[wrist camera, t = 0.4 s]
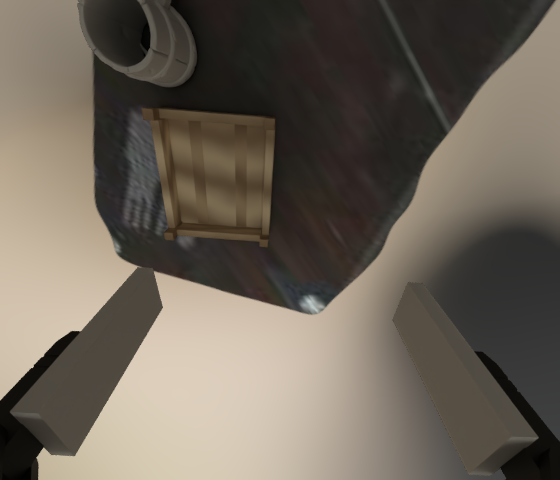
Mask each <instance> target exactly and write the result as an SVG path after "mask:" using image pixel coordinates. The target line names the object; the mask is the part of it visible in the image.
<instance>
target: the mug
mask: <svg viewBox="0 0 560 480" xmlns="http://www.w3.org/2000/svg"><path fill="white" fill-rule="evenodd" d="M78 1H79V3H78V10H79V16H80V25H81V29H82V32H83V34H84V37H85V39H86V41H87V43H88V45H89V47H90V48H91V50H93V51H94V53H95V54H96V55H97V56H98V57H99V59H100V60H101V61H103V62H104V63H106V64H108V65H109V66H111V67H112V68H113V69H115V70H117V71H119V72H123V73H125V74H126V75H127V76H129V77H131V78H134V79H138V80H142V81H149V82H151V83H154V84H156V85H159V86H162V87H176V86H179V85H181V84H183V83H185V82H186V81H187V80H188V79H189V78H190V77H191V76H192V74H193V72H194V70H195V68H194V67H195V66H196V63H197V50H196V45H195V41H194V37H193V35H192V32H191V30H190V28H189V26H188V25H187V23H186V21H185V20H184V19H183V17H182V16H181V15H180V14H179V13H178V12H177V11H176V10H175V9H174V8H173V7H172V6H170V3H171V0H78ZM80 3H81V4H80ZM147 22H148V23H149V27H150V33H151V41H150V48H149V50H148V52H147V50H146V49H145V48H144V47H143V46H142V45H141V38H142V34H141V33H143V29H144V27H145V25H146V24H147ZM142 50H143V51H144V53H145V55H146V56H145V57H144V54H143V51H142Z"/></svg>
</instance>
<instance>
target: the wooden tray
mask: <svg viewBox="0 0 560 480" xmlns="http://www.w3.org/2000/svg"><path fill="white" fill-rule="evenodd" d="M142 114H143V119H144V120H150V123H151V128H152V134H153V140H154V146H155V152H156V158H157V164H158V169H159V175H160V181H161V187H162V193H163V199H164V205H165V211H166V216H167V222H168V229H167V230H166V231H165V232H164V235H165V240H174V239H175V238H176V237H177V236H191V237H205V238H219V239H233V240H246V241H260V247H268V240H269V232H270V214H271V197H272V180H273V163H274V146H275V128H276V117H271V116H258V115H246V114H234V113H222V112H210V111H198V110H186V109H174V108H162V107H160V108H142Z"/></svg>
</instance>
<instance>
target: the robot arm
mask: <svg viewBox="0 0 560 480" xmlns="http://www.w3.org/2000/svg"><path fill="white" fill-rule="evenodd" d="M162 308H163V306H162V302H161V299H160V295H159V291H158V287H157V283H156V279H155V275H154V271H153V268H139V267H138V268H137V269H136V270H135V271H134V272H133V273H132V275H131V276H130V277H129V278H128V279H127V280H126V281H125V282H124V283H123V285H122V286H121V287H120V288H119V289H118V290H117V291H116V292H115V294H114V295H113V296H112V297H111V298H110V299H109V300H108V301H107V303H106V304H105V305H104V306H103V307H102V308H101V309H100V310H99V312H98V313H97V314H96V315H95V316H94V317H93V319H92V320H91V321H90V322H89V323H88V324H87V325H86V326H85V327H84V329H83V330H82V331H80V332H79V331H71V332H70V333H69V334H67V335H65V336H64V337H62V338H61V339H60V340H58V341H57V342H56V343H55V344H54V345H53V346H52V347H51V348H50V349H49V350H48V351H47V352H46V353H45V354H44V357H42V358H40V360H38V362H37V363H36V364H35V365H34V367H33V368H31V369H30V370H29V371H28V372H27V373H26V374H25V375H24V376H23V377H22V378H21V380H19V382H18V383H17V384H16V385H15V386H14V387H13V388H12V389H11V390H10V391H9V392H8V393H7V394H6V395H5V396H4V397H3V398H2V399H1V400H0V480H38V461H37V458H36V457H37V456H38V455H39V453H40V451H41V450H42V449H43V447H44V448H45V449H46V450H47V451H48V452H49V453H50V454H51V455H65V456H75V455H76V453H77V451H78V449H79V448H80V446H81V444H82V443H83V441H84V439H85V438H86V436H87V434H88V433H89V431H90V429H91V428H92V426H93V424H94V423H95V421H96V419H97V418H98V416H99V414H100V412H101V411H102V409H103V407H104V406H105V404H106V402H107V401H108V399H109V397H110V396H111V394H112V392H113V390H114V389H115V387H116V386H117V384H118V382H119V380H120V379H121V377H122V375H123V374H124V372H125V370H126V369H127V367H128V365H129V364H130V362H131V360H132V359H133V357H134V355H135V353H136V352H137V350H138V348H139V346H140V345H141V343H142V342H143V340H144V338H145V337H146V335H147V333H148V332H149V330H150V328H151V326H152V325H153V323H154V321H155V320H156V318H157V316H158V315H159V313H160V311H161V310H162ZM393 322H394V323H395V326H396V328H397V330H398V332H399V334H400V336H401V338H402V340H403V342H404V344H405V346H406V348H407V350H408V352H409V354H410V356H411V358H412V360H413V362H414V365H415V367H416V369H417V371H418V372H419V374H420V377H421V379H422V381H423V383H424V385H425V387H426V389H427V391H428V393H429V395H430V397H431V399H432V401H433V403H434V405H435V407H436V409H437V411H438V414H439V416H440V417H441V420H442V422H443V424H444V426H445V427H446V430H447V432H448V434H449V436H450V438H451V440H452V442H453V444H454V446H455V448H456V450H457V452H458V454H459V456H460V458H461V460H462V462H463V464H464V467H465V469H466V471H467V473H468V474H469V475H492V474H493V473H495V472H496V471H497V470H498V469H500V468H501V470H502V472H503V473H504V475H505V477H506V480H560V442H559V440H558V439H557V438H556V437H555V436H554V435H553V433H552V432H551V431H550V430H549V429H548V427H547V426H546V425H545V423H544V422H543V421H542V420H541V418H540V417H539V416H538V415H537V413H536V412H535V411H534V410H533V408H532V407H531V406H530V405H529V404H528V402H527V401H526V400H525V399H524V397H523V396H522V395H521V393H520V392H517V388H516V387H515V386H514V385H513V384H512V382H511V381H510V380H508V378H507V376H506V375H505V374H504V373H503V371H502V370H501V369H500V367H499V366H498V365H497V364H496V363H495V362H494V361H492V360H491V359H490V358H489V357H488V356H487V355H486V354H484V353H483V352H476V351H473V350H472V348H471V347H470V346H469V344H468V343H467V342H466V340H465V339H464V338H463V336H462V335H461V334H460V332H459V331H458V330H457V328H456V327H455V326H454V324H453V323H452V322H451V320H450V319H449V318H448V316H447V315H446V314H445V312H444V311H443V310H442V308H441V307H440V306H439V305H438V303H437V302H436V300H435V299H434V298H433V296H432V295H431V294H430V293H429V291H428V290H427V289H426V287H425V286H424V285H423V283H411V282H408V284H407V286H406V288H405V291H404V293H403V296H402V298H401V301H400V303H399V305H398V308H397V310H396V313H395V315H394V318H393Z"/></svg>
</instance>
